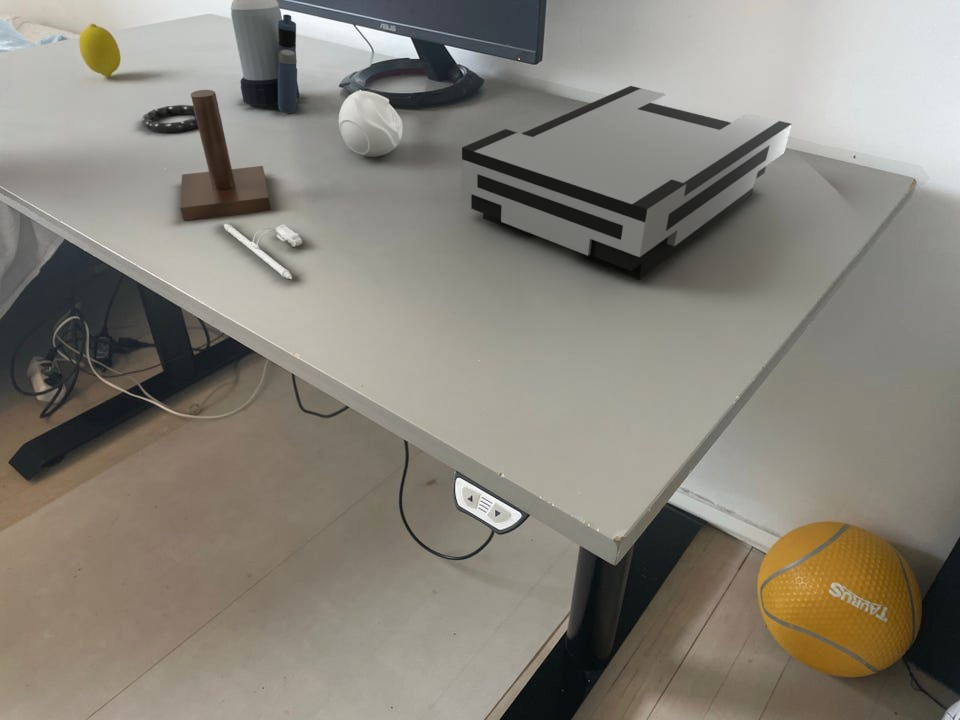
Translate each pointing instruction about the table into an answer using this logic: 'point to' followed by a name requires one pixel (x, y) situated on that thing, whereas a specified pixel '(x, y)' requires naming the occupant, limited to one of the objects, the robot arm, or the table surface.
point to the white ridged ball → (369, 124)
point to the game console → (621, 176)
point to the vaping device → (287, 65)
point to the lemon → (99, 50)
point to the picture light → (284, 235)
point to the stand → (219, 172)
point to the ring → (169, 127)
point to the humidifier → (258, 49)
